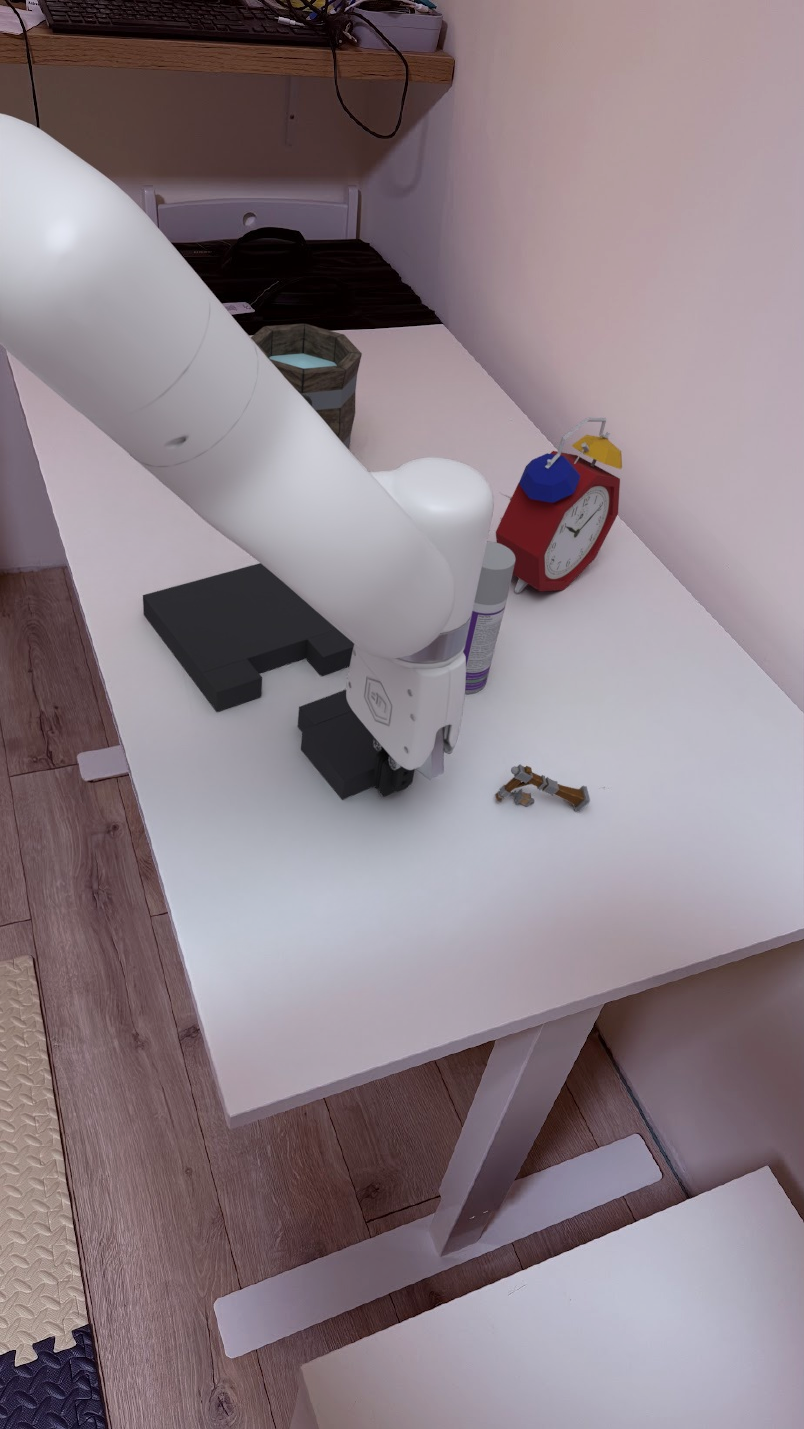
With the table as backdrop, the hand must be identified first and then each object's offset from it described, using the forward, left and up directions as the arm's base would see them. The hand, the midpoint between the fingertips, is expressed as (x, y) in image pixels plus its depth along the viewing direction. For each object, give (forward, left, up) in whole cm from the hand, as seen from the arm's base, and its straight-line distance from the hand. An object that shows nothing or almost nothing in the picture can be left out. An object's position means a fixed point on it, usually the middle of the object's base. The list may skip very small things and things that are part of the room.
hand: (391, 784), depth 88 cm
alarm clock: (+34, +20, -2) cm, 40 cm away
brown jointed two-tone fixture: (+11, -8, -2) cm, 14 cm away
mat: (-1, +24, -1) cm, 24 cm away
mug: (+19, +49, -2) cm, 53 cm away
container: (+15, +9, -2) cm, 18 cm away
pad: (0, +6, -1) cm, 7 cm away
